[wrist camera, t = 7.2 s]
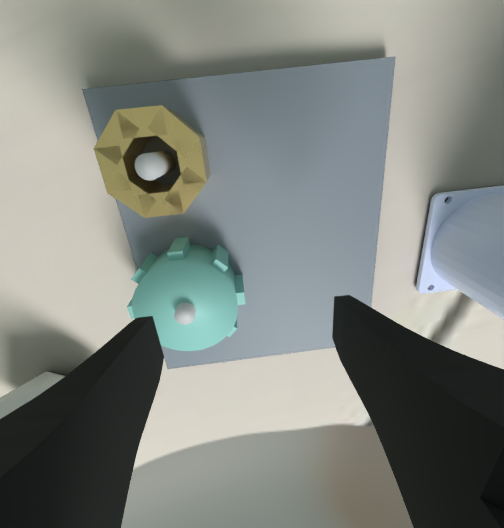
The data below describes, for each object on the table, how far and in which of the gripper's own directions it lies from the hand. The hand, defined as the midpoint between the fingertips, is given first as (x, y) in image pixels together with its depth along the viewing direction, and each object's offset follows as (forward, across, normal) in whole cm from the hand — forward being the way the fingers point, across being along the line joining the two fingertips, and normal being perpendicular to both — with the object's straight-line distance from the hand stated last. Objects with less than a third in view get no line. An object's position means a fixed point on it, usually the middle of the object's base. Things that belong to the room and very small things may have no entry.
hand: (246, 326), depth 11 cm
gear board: (+10, -1, 0) cm, 10 cm away
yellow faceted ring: (+9, +4, -6) cm, 11 cm away
